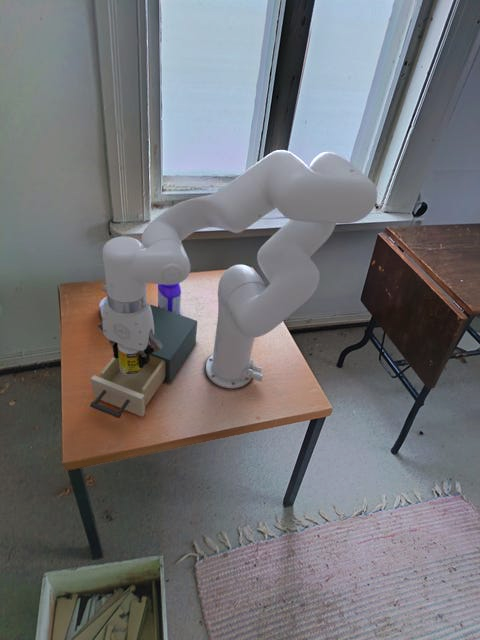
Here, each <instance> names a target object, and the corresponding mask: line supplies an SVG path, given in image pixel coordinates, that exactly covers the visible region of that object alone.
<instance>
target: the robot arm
mask: <svg viewBox="0 0 480 640" xmlns="http://www.w3.org/2000/svg"><path fill="white" fill-rule="evenodd" d="M377 201H378V190H377V187H376V185H375V184H374V182H373V181H372V180H371V178H369V177H368V176H367V175H366V174H364V173H363V172H362V171H360V170H359V169H358V168H356V166H354V164H352V163H351V162H349V161H348V160H347V159H346V158H344V157H343V156H341V155H339V154H337V153H335V152H332V151H325V152H321V153H320V154H318V155H317V156H316V157H314V158H313V160H312V161H311V163H310V165H309V166H308V165H307V164H306V163H305V162H304V161H303V160H302V159H300V157H298V156H297V155H295V154H294V153H293V152H291V151H288V150H285V149H277V150H274V151H272V152H270V153H269V154H267V155H266V156H264V157H263V158H262V159H260V160H259V161H257V162H256V163H254V164H253V165H251V166H250V167H249V168H247V169H246V170H244V172H242V173H241V174H239V175H238V176H236V177H235V178H234V179H233V180H231V181H230V182H228V183H227V184H226V185H224V186H223V187H222V188H220V189H218V190H217V191H215V192H214V193H211V194H207V195H202V196H197V197H194V198H189V199H186V200H183V201H180V202H178V203H176V204H174V205H172V206H170V207H169V208H168V209H166V210H165V211H162V213H161V214H159V215H158V216H157V217H155V218H154V219H153V220H152V221H150V222H149V223H148V225H147V226H145V228H144V229H143V231H142V234H141V237H140V240H139V239H136V238H134V237H130V236H117V237H116V236H115V237H113V238H110V239H109V240H108V241H107V242H105V244H104V245H103V247H102V260H103V261H102V263H103V269H104V270H103V271H104V278H105V284H104V285H103V286H102V291H103V292H105V293H106V297H107V298H106V299H105V301H104V306H103V315H102V317H101V322H100V323H98V325H97V327H98V329H99V330H101V332H102V333H103V336H104V337H105V338H106V339H107V340H109V344H110V345H111V346H112V352H113V357H114V358H116V359H117V358H119V356H118V343H119V344H121V345H124V346H127V347H130V348H132V349H135V350H139V352H140V355H139V356H138V359H139V368H143V367H144V365H145V364H147V363H148V362H149V360H150V356H149V354H151V353H153V352H154V351H155V352H156V351H159V350H160V349H161V348H162V347H163V345H162V343H161V342H160V341H159V340H158V338H157V337H156V336H155V335H154V321H153V315H152V311H151V307H150V303H149V302H148V295H147V294H148V286H147V285H148V284H155V285H158V284H163V285H173V284H178V283H179V284H180V283H182V282H184V281H185V280H187V278H189V275H190V273H191V262H190V259H189V257H188V255H187V252H186V250H185V247H184V245H183V242H182V241H183V240H185V239H187V238H188V237H189V236H191V235H192V234H193V233H194V234H195V233H196V232H198V231H200V230H204V229H207V228H208V229H209V228H216V229H220V230H225V231H227V232H231V233H235V234H240V233H243V232H244V231H246V230H247V229H249V227H251V226H253V225H254V224H255V223H256V222H258V221H259V220H260V219H262V218H264V217H265V216H266V215H268V214H269V213H271V212H273V210H275V209H277V210H278V212H279V213H280V214H281V215H282V216H283V217H285V218H286V219H289V220H287V222H285V224H283V225H282V227H280V228H279V229H278V230H277V231H276V232H275V233H274V234H273V235H272V236H270V237H269V238H268V239H267V240H266V241H265V243H264V244H262V245H261V247H260V248H259V249H258V252H257V253H256V256H257V257H256V260H257V263H258V265H259V268H260V270H261V271H262V273H263V274H264V277H265V278H266V279H267V281H268V283H269V285H268V286H266V284H265V282H264V281H263V279H262V277H261V276H260V275H259V274H258V273H257V271H256V270H255V269H254V268H252V267H251V266H248V265H245V264H235V265H232V266H230V267H229V268H227V269H226V270H225V271H224V272H223V273H222V275H221V276H220V278H219V281H218V285H217V287H218V288H217V306H218V307H217V310H218V311H217V320H216V321H217V322H216V330H215V337H214V338H215V339H214V345H213V353H212V354H210V356H209V357H208V358H207V359H206V362H205V372H206V375H207V377H208V379H209V380H210V381H211V382H212V383H214V384H215V385H217V386H219V387H221V388H225V389H238V388H241V387H244V386H245V385H247V384H248V383H249V382H250V381H251V379H253V380H256V381H258V382H260V383H262V382H263V380H264V377H265V374H262V373H261V372H262V371H263V367H262V366H259V365H256V364H255V363H253V361H254V357H252V352H253V348H254V342H255V338H259V337H262V336H265V335H267V334H269V333H270V332H271V331H273V330H275V328H277V327H278V326H279V325H281V324H282V323H283V322H285V320H286V319H287V318H289V317H290V316H291V315H292V314H293V313H295V312H296V311H297V310H298V309H299V308H300V307H302V306H303V305H304V304H306V302H308V301H309V300H310V299H311V297H312V296H313V295H314V294H315V292H316V291H317V289H318V288H319V287H318V286H319V283H320V278H321V277H320V272H319V269H318V267H317V265H316V264H315V262H314V261H313V260H312V259H311V257H312V256H313V255H314V254H315V253H316V252H317V251H318V250H319V249H320V248H321V247H322V246H323V245H324V244H325V243H326V242H327V240H329V238H330V237H331V235H332V234H333V232H334V230H335V227H336V226H337V224H339V225H340V224H341V225H342V224H345V225H346V224H353V223H356V222H359V221H361V220H363V219H364V218H367V217H368V215H369V214H371V213H372V212H373V210H374V208H375V206H376V205H377ZM149 341H150V342H149ZM150 343H151V344H152V345H151V344H150Z"/></svg>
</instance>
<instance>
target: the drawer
mask: <svg viewBox="0 0 480 640" xmlns="http://www.w3.org/2000/svg"><path fill="white" fill-rule="evenodd" d="M149 356H150V360H149V362H148V363H147V364H145V365H144V368H143V370H142V371H141V372H140V373H138V374H136V375H126V374H124V373H123V372H122V371H121V370H120V367H119V358H117V359H116V358H114V356H113V357H112V358H111V359H110V361H109V362H108V363H107V364H106V365H105V366H104V368H103V369H102V370H101V371H100V372H99V374H100V376H97V375H95V374H93V375H92V377H91V378H90V382H91V383H90V384H91V388H92V393H93V397H94V398H95V400H94V401H91V403H90V405H89V407H90V408H92V409H94V410H97V411H99V412H101V413H104V414H106V415H109V416H111V417H114V418H117V419H120V418H121V416H122V413H123V412H124V411H127V412H129V413H132V414H134V415H137V416H139V417H141V418H143V417H144V416H145V414H146V407H147V405H148V404H149V402H150V401H151V399H152V398H153V397H154V395H155V394H156V392H157V391H158V389H159V388H160V386H161V385H162V384H163V382H164V381H163V380H164V379H165V377H166V376H167V361H165V360H162V359H159V358H157V357H154V356H151V355H149ZM100 401H103V402H105V403H107V404H110V405H112V406H115V407H117V408H120V409H119V410H118V411H116V410H114V409H113V408H110V407H108V406H105V405H102V404H100V403H99V402H100Z"/></svg>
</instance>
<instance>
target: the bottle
mask: <svg viewBox="0 0 480 640" xmlns="http://www.w3.org/2000/svg"><path fill="white" fill-rule="evenodd" d="M180 285H181V284H180V283H178V284H173V285H163V284H157V307H159V308H162V309H165V310H168V311H171V312H173V313H176V314H179V315H181V299H182V298H181V297H182V295H181V294H182V287H181V286H180Z"/></svg>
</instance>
